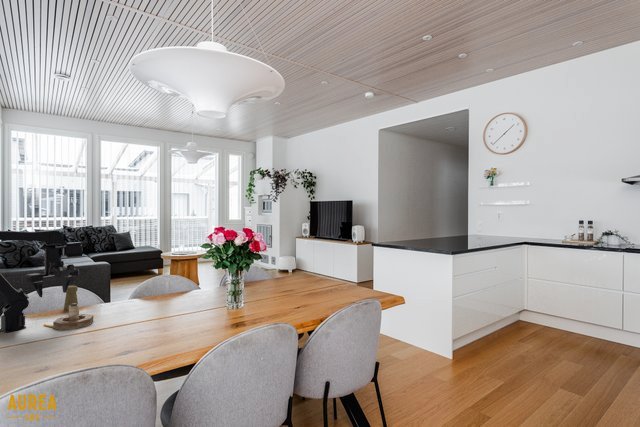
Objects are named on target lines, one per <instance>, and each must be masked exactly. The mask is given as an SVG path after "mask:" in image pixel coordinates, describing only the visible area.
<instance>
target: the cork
mask: <svg viewBox="0 0 640 427" xmlns="http://www.w3.org/2000/svg"><path fill="white" fill-rule="evenodd" d="M77 292H78V285H69V286H68V288H67V290H66V292H65V298H64V299H65V300H64V305H63V310H69V306H70V305H71V304H72V303H77V305H79V303H78V302H79V301H78V295H77Z"/></svg>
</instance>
